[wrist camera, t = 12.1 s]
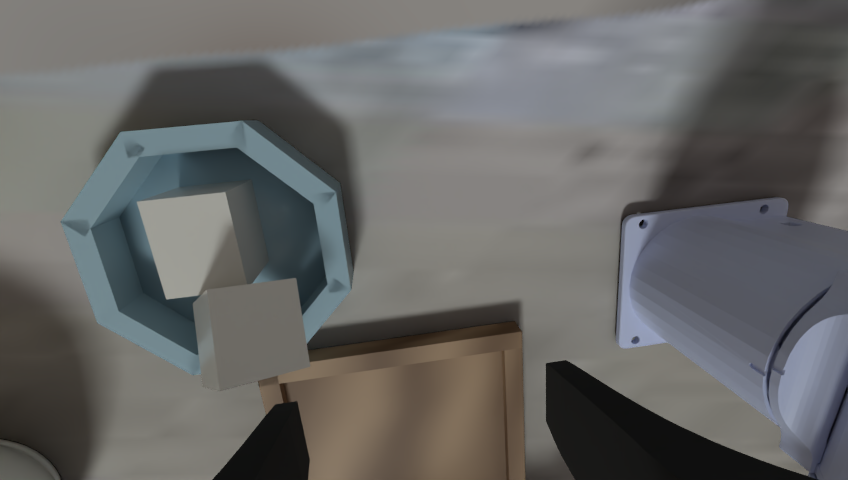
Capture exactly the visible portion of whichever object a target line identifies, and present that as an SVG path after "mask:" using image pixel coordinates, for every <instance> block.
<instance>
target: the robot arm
mask: <svg viewBox="0 0 848 480" xmlns="http://www.w3.org/2000/svg"><path fill="white" fill-rule="evenodd" d="M761 207H762V209H761V210H760V208H761ZM787 212H788V201H787V200H786V199H785V198H780V197H773V198H765V199H757V200H749V201H740V202H732V203H724V204H716V205H707V206H699V207H691V208H682V209H674V210H666V211H658V212H649V213H641V214H633V215H629V216H627V217H626V218H625V219H624V220H623V223H622V235H621V254H620V272H619V291H618V309H617V328H616V343H617V344H618V345H619V346H620V347H622V348H633V347H640V346H646V345H653V344H659V343H666V342H668V343H669V344H671V345H672V346H673V347H675V348H676V349H677V350H679V351H680V352H681V353H682V354H684V355H685V356H686V357H688V358H689V359H690V360H692V361H693V362H694V363H696V364H697V365H698V366H700V367H701V368H702V369H704V370H705V371H706V372H708V373H709V374H710V375H712V376H713V377H714V378H716V379H717V380H718V381H720V382H721V383H722V384H723V385H725V386H726V387H727V388H729V389H730V390H731V391H733V392H734V393H735V394H737V395H738V396H739V397H741V398H742V399H743V400H745V401H746V402H747V403H749V404H750V405H751V406H753V407H754V408H755V409H757V410H758V411H759V412H761V413H762V414H763V415H764V416H766V417H767V418H768V419H770V420H771V421H772V422H774V423H775V424H776V425H778V426H779V427H780V429H781V441H780V445H779V447H780V449H782V450H783V451H784V452H785V453H787V454H788V455H789V456H790V457H792V458H793V459H794V460H795V461H796V462H798V463H799V464H800V465H801V466H803V467H804V468H805V469H806V470H808V471H809V474H808V476H805V475H802V474H799V473H796V472H793V471H790V470H787V469H784V468H781V467H778V466H775V465H772V464H769V463H766V462H764V461H761V460H758V459H756V458H753V457H750V456H748V455H745V454H743V453H740V452H737V451H735V450H732V449H730V448H727V447H725V446H722V445H720V444H718V443H715V442H713V441H711V440H708V439H706V438H704V437H702V436H700V435H697V434H695V433H693V432H691V431H689V430H687V429H684V428H682V427H680V426H678V425H676V424H674V423H672V422H670V421H668V420H666V419H664V418H663V417H661V416H659V415H657V414H655V413H653V412H651V411H650V410H648V409H646V408H644V407H642V406H641V405H639V404H637V403H635V402H634V401H632V400H630V399H628V398H627V397H625V396H623V395H622V394H620V393H618V392H617V391H615V390H613V389H612V388H610V387H609V386H607V385H605V384H604V383H602V382H600V381H599V380H597V379H596V378H594V377H593V376H591V375H589V374H588V373H586V372H585V371H583V370H581V369H580V368H578V367H577V366H575V365H573V364H572V363H570V362H568V361H566V360H565V361H558V362H551V363H546V422H547V424H548V426H549V429H550V431H551V434H552V436H553V438H554V441H555V443H556V445H557V447H558V449H559V452H560V454H561V456H562V457H563V459H564V461H565V463H566V464H567V466H568V468H569V470H570V471H571V473H572V475H573V476H574V478H575V480H848V231H846V230H842V229H837V228H833V227H829V226H825V225H820V224H816V223H812V222H808V221H803V220H799V219H795V218H790V217H787ZM641 220H643V221H644V223H643V225H642V226H640V227H639V223H640V221H641ZM635 336H636V337H635ZM633 337H635V339H634V340H632V338H633ZM631 340H632V341H631ZM309 464H310V458H309V453H308V449H307V444H306V439H305V435H304V430H303V425H302V421H301V416H300V411H299V407H298V402H297V401H294V402H287V403H281V404H275V405H274V406H273V408H272V409H271V410H270V411H269V412H268V414H267V415H266V416H265V417H264V419H263V420H262V421H261V422H260V424H259V425H258V426H257V427H256V429H255V430H254V431H253V432H252V434H251V435H250V436H249V437H248V439H247V440H246V441H245V442H244V444H243V445H242V446H241V447H240V448H239V450H238V451H237V452H236V453H235V454H234V456H233V457H232V458H231V459H230V460H229V462H228V463H227V464H226V465H225V466H224V467H223V469H222V470H221V471H220V472H219V473H218V474H217V475H216V476H215V477H214V479H213V480H308V475H309Z"/></svg>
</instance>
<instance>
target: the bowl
mask: <svg viewBox="0 0 848 480" xmlns="http://www.w3.org/2000/svg"><path fill="white" fill-rule="evenodd" d="M250 179H252V184H253V189H254V193H255V198H256V202H257V207H258V212H259V216H260V221H261V225H262V230H263V235H264V239H265V244H266V249H267V253H268V258H269V262H268V263H267V264H266V266H265V267H264V268H263V270H262V271H261V272H260V274H259V275H258V277H257V278H256V279H255V281H254V282H253V283H252V284H254V283H261V282H269V281H276V280H284V279H291V278H296V281H297V287H298V293H299V299H300V306H301V312H302V318H303V324H304V330H305V337H306V343H308V342H309V340H310V339H311V338H312V337H313V335H314V334H315V333H316V332H317V331H318V329H319V328H320V327H321V326H322V325H323V323H324V322H325V321H326V320H327V319H328V317H329V316H330V315H331V314H332V312H333V311H334V310H335V309H336V308H337V306H338V305H339V304H340V303H341V302H342V300H343V299H344V298H345V297H346V295H347V294H348V293H349V292H350V291H351V288H352V280H353V273H354V270H353V265H352V258H351V251H350V245H349V238H348V231H347V225H346V218H345V211H344V205H343V198H342V191H341V185H340V184H341V183H339V182H338V181H337V180H336V179H334V178H333V177H332V176H330V175H329V174H328V173H326V172H325V171H324V170H322V169H321V168H320V167H319V166H317V165H316V164H315V163H313V162H312V161H311V160H309V159H308V158H307V157H305V156H304V155H303V154H302V153H300V152H299V151H298V150H296V149H295V148H294V147H292V146H291V145H290V144H289V143H287V142H286V141H285V140H283V139H282V138H281V137H279V136H278V135H277V134H275V133H274V132H273V131H272V130H270V129H269V128H268V127H266V126H265V125H264V124H262V123H261V122H260V121H258V120H241V121H234V122H223V123H212V124H202V125H191V126H180V127H169V128H158V129H147V130H136V131H121V132H120V133H119V135H118V136H117V138H116V139H115V141H114V142H113V144H112V145H111V147H110V148H109V150H108V151H107V153H106V154H105V156H104V157H103V159H102V160H101V162H100V163H99V165H98V166H97V168H96V169H95V171H94V172H93V174H92V175H91V177H90V178H89V180H88V181H87V183H86V184H85V186H84V187H83V189H82V190H81V192H80V193H79V195H78V197H77V198H76V200H75V201H74V203H73V204H72V206H71V207H70V209H69V210H68V212H67V213H66V215H65V216H64V218H63V219H62V221H61V224H62V226H63V229H64V232H65V235H66V237H67V240H68V243H69V246H70V249H71V251H72V254H73V257H74V260H75V262H76V265H77V268H78V271H79V273H80V276H81V279H82V282H83V285H84V287H85V290H86V293H87V296H88V298H89V301H90V304H91V307H92V309H93V312H94V315H95V318H96V321H97V323H98V324H100V325H102V326H104V327H106V328H107V329H109V330H111V331H113V332H115V333H117V334H118V335H120V336H122V337H124V338H126V339H128V340H129V341H131V342H133V343H135V344H137V345H139V346H140V347H142V348H144V349H146V350H148V351H150V352H151V353H153V354H155V355H157V356H159V357H161V358H162V359H164V360H166V361H168V362H170V363H171V364H173V365H175V366H177V367H179V368H181V369H182V370H184V371H186V372H188V373H190V374H192V375H197V374H201V369H200V361H199V353H198V344H197V336H196V328H195V320H194V311H193V303H194V302H195V301H196V300H197V299H198V298H199V297H200V296H201V295H198V296H190V297H182V298H175V299H167V300H166V297H165V294H164V290H163V287H162V284H161V281H160V277H159V274H158V271H157V267H156V264H155V261H154V257H153V254H152V251H151V248H150V244H149V241H148V238H147V234H146V231H145V228H144V224H143V221H142V218H141V215H140V211H139V208H138V205H137V201H140V200H143V199H146V198H149V197H152V196H155V195H158V194H161V193H163V192H166V191H169V190H172V189H175V188H178V187H185V186H194V185H203V184H213V183H222V182H231V181H241V180H250Z"/></svg>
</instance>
